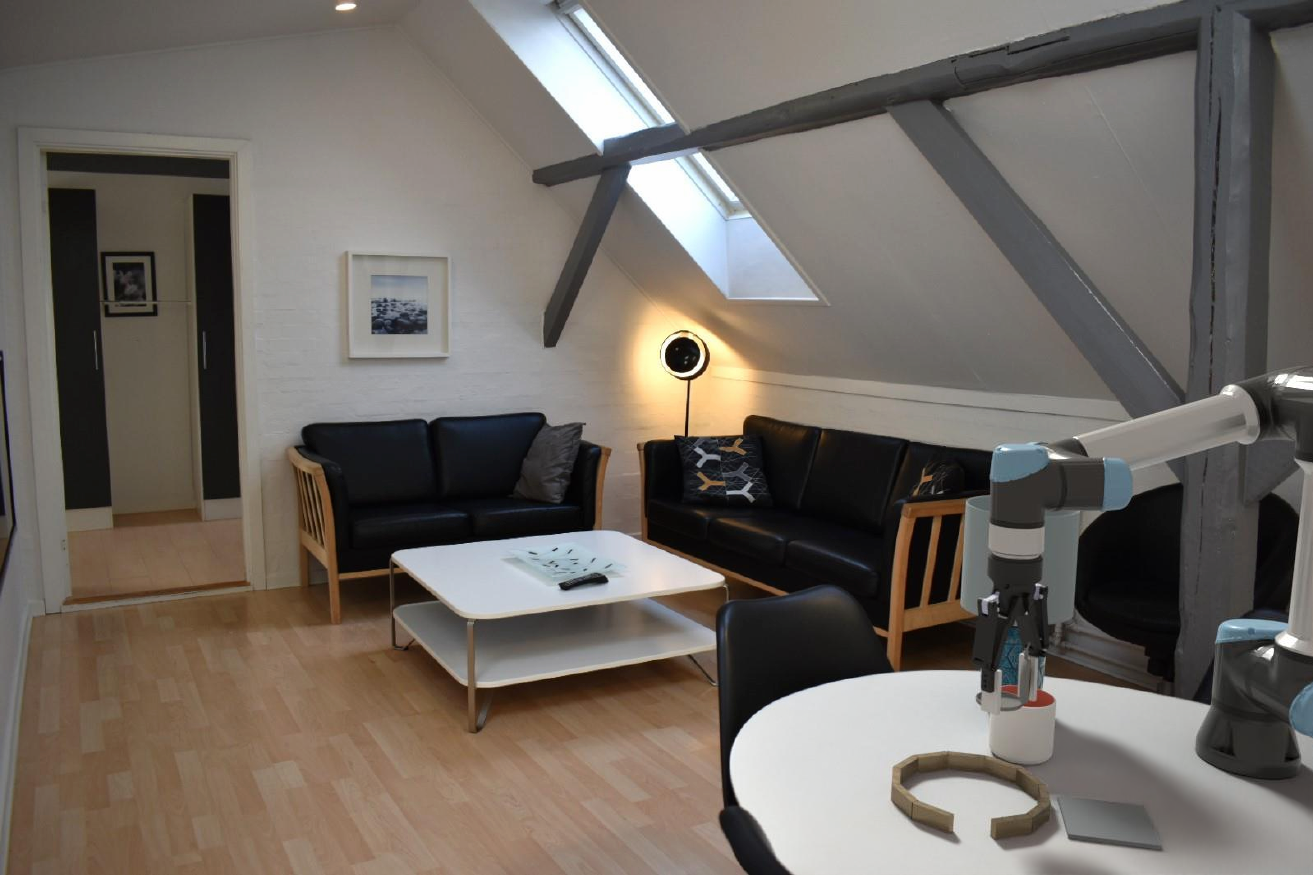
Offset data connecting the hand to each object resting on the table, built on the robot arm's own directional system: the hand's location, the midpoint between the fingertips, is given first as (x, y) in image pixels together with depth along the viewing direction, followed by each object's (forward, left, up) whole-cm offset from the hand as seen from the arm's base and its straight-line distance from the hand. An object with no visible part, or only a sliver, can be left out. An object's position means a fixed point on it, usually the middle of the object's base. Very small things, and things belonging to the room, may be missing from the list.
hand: (1009, 704), depth 155 cm
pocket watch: (0, 0, 0) cm, 1 cm away
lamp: (-4, -39, -16) cm, 42 cm away
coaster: (-14, +2, -15) cm, 21 cm away
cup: (-4, -19, -16) cm, 25 cm away
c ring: (+5, 0, -15) cm, 16 cm away
